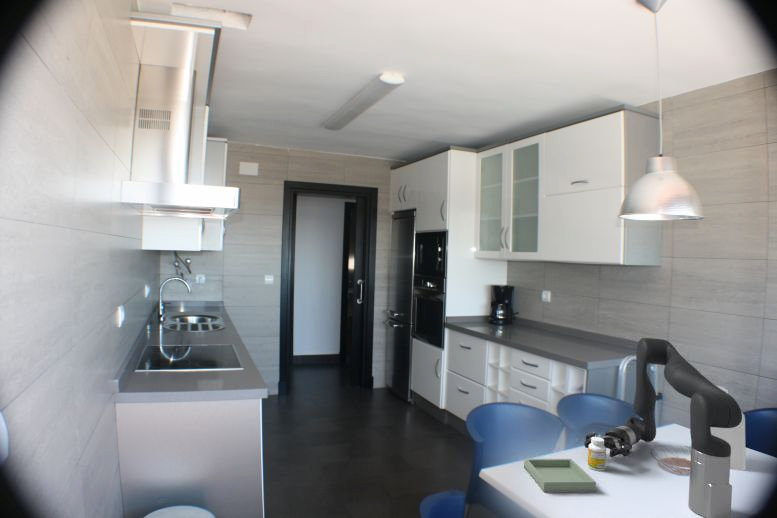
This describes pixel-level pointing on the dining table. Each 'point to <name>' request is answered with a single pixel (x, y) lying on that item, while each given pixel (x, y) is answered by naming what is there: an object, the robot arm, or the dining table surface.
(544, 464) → the tray
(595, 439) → the supplement bottle
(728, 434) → the milk
